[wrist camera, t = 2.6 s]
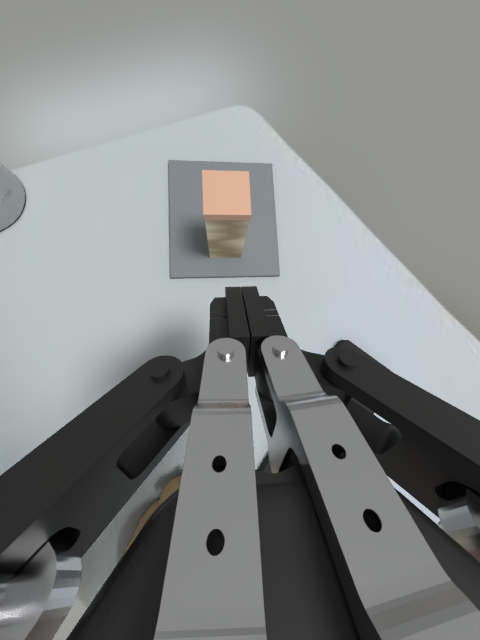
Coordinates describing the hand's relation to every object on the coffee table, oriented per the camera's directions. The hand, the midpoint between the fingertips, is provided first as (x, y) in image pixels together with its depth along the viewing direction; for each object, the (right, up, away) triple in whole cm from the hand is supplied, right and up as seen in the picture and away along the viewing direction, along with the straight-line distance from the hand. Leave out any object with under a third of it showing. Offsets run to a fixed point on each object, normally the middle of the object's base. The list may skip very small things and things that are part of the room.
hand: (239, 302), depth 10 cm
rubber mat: (-2, +13, +17) cm, 21 cm away
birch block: (-2, +9, +16) cm, 19 cm away
